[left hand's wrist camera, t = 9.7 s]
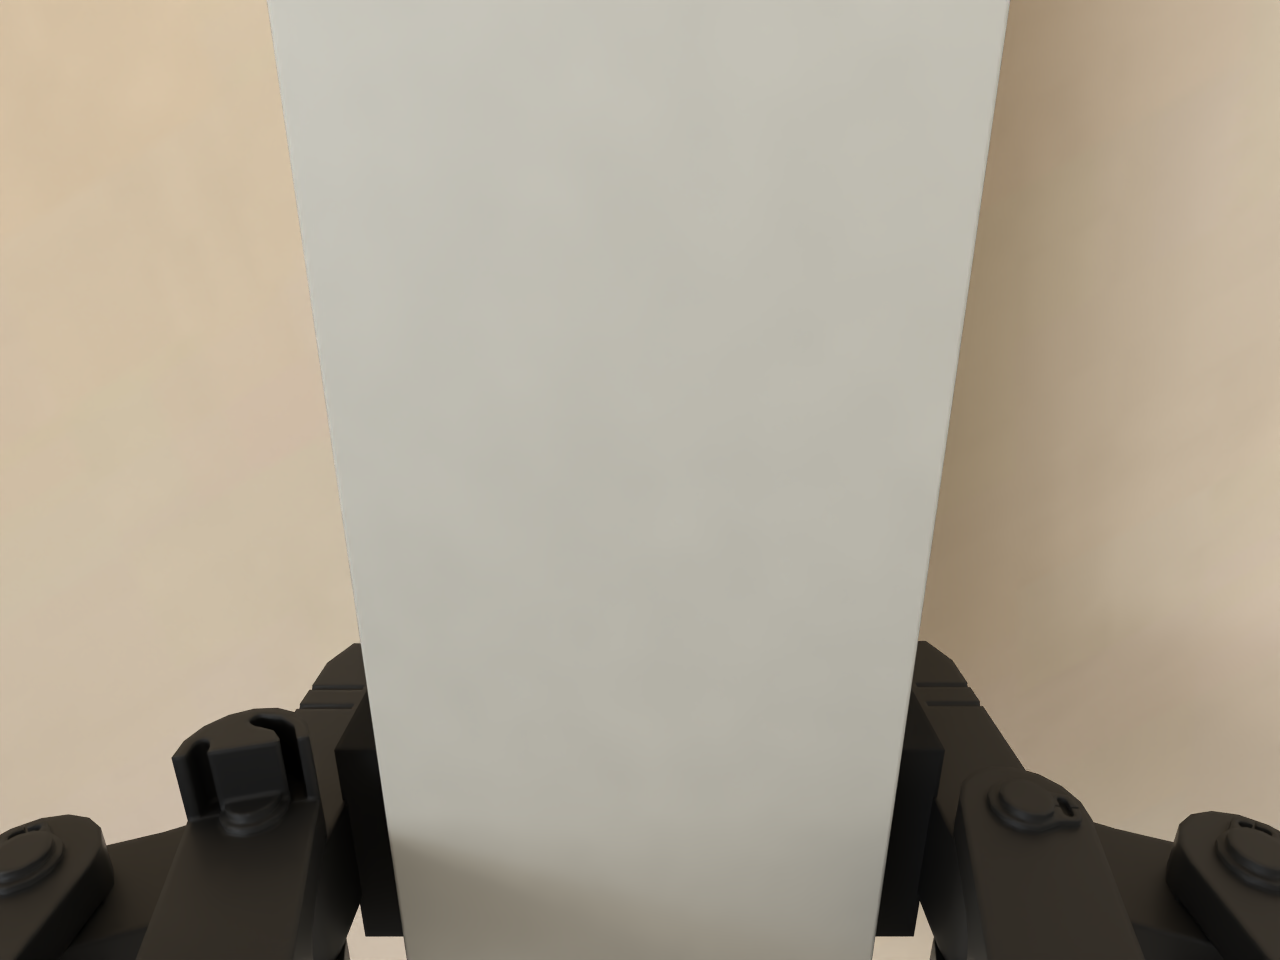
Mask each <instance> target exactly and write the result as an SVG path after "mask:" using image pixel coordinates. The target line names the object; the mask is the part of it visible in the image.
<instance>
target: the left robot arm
mask: <svg viewBox="0 0 1280 960" xmlns="http://www.w3.org/2000/svg"><path fill="white" fill-rule="evenodd" d="M172 762H173V765H174V769H175V773H176V777H177V781H178V785H179V789H180V792H181V796H182V800H183V804H184V808H185V812H186V815H187V819H188V822H187V825H186V826H183V827H179V828H176V829H173V830H169V831H166V832H162V833H158V834H154V835H150V836H145V837H141V838H137V839H132V840H128V841H124V842H120V843H115V844H111V845H107V846H106V843H105V840H104V837H103V834H102V830H101V828H100V827H99V826H98V825H97V824H96V823H95V822H93V821H92V820H91V819H90V818H87V817H81V816H75V815H61V816H54V817H47V818H41V819H38V820H35V821H32V822H29V823H26V824H23V825H21V826H18V827H15V828H12V829H10V830H8V831H6V832H4V833H3V834H1V835H0V960H350V957H349V950H348V945H347V939H346V937H347V935H348V932H349V930H350V927H351V925H352V922H353V920H354V917H355V914H356V912H357V909H358V907H359V904H360V906H361V912H362V918H363V924H364V930H365V936H403V929H402V922H401V915H400V908H399V902H398V895H397V888H396V881H395V874H394V867H393V861H392V854H391V847H390V840H389V833H388V826H387V819H386V813H385V806H384V799H383V792H382V785H381V778H380V771H379V765H378V758H377V751H376V744H375V737H374V730H373V723H372V717H371V710H370V703H369V696H368V689H367V682H366V676H365V669H364V662H363V655H362V648H361V643H354V644H352V645H351V646H350V647H348V648H347V649H346V650H344V651H343V652H341V653H340V654H339V655H337V656H336V657H335V658H333V659H332V660H331V661H329V662H328V663H327V664H326V666H325V667H324V669H323V670H322V672H321V673H320V675H319V676H318V678H317V679H316V681H315V682H314V684H313V685H312V690H309V691H308V693H307V694H306V696H305V697H304V699H303V700H302V702H301V703H300V709H296V711H295V712H292V711H288V710H284V709H280V708H262V709H251V710H247V711H243V712H239V713H235V714H231V715H228V716H226V717H223V718H221V719H219V720H217V721H215V722H212V723H210V724H208V725H206V726H204V727H202V728H201V729H200V730H198V731H197V732H196V733H194V734H193V735H192V736H190V737H189V738H188V739H186V740H185V741H184V742H183V743H182V744H181V746H180V747H179V748H178V750H177V751H176V753H175V754H174V755H173V757H172ZM919 902H921V905H922V908H923V910H924V913H925V915H926V918H927V920H928V923H929V925H930V928H931V930H932V933H933V935H934V939H933V945H932V950H931V956H930V960H1280V831H1278V830H1277V829H1275V828H1273V827H1271V826H1269V825H1266V824H1264V823H1261V822H1258V821H1255V820H1252V819H1249V818H1246V817H1243V816H1240V815H1236V814H1229V813H1222V812H1214V811H1209V812H1203V813H1197V814H1191V815H1190V816H1189V817H1187V818H1186V819H1185V820H1184V821H1183V822H1182V823H1180V824H1179V827H1178V830H1177V833H1176V837H1175V840H1174V842H1170V841H1165V840H1161V839H1157V838H1153V837H1148V836H1144V835H1140V834H1135V833H1131V832H1127V831H1122V830H1118V829H1114V828H1111V827H1108V826H1104V825H1101V824H1098V823H1094V822H1093V821H1092V819H1091V817H1090V816H1089V814H1088V813H1087V811H1086V810H1085V808H1084V806H1083V805H1082V803H1081V802H1080V801H1079V800H1078V799H1076V798H1075V797H1074V796H1073V795H1072V794H1070V793H1069V792H1068V791H1067V790H1066V789H1064V788H1063V787H1062V786H1060V785H1058V784H1056V783H1055V782H1053V781H1051V780H1049V779H1047V778H1045V777H1043V776H1041V775H1039V774H1036V773H1032V772H1029V771H1026V770H1025V769H1024V767H1023V766H1022V764H1021V763H1020V761H1019V760H1018V758H1017V757H1016V755H1015V754H1014V752H1013V751H1012V749H1011V748H1010V746H1009V745H1008V743H1007V742H1006V740H1005V739H1004V737H1003V736H1002V734H1001V733H1000V731H999V730H998V728H997V727H996V725H995V724H994V722H993V721H992V719H991V718H990V716H989V715H988V713H987V712H986V710H985V709H984V707H983V706H980V701H979V700H978V698H977V697H976V695H975V694H974V692H973V691H972V689H971V688H970V687H968V686H967V682H966V680H965V679H964V677H963V676H962V674H961V673H960V671H959V670H958V668H957V667H956V665H955V664H954V662H953V661H952V660H951V659H950V658H948V657H947V656H946V655H944V654H943V653H942V652H940V651H939V650H937V649H936V648H935V647H933V646H932V645H931V644H929V643H928V642H926V641H918V643H917V650H916V657H915V664H914V671H913V678H912V685H911V692H910V699H909V706H908V713H907V720H906V727H905V734H904V741H903V748H902V754H901V761H900V768H899V775H898V782H897V789H896V796H895V803H894V810H893V817H892V824H891V831H890V838H889V845H888V852H887V859H886V865H885V872H884V879H883V886H882V893H881V900H880V907H879V914H878V921H877V928H876V935H875V936H914V931H915V925H916V919H917V914H918V908H919Z"/></svg>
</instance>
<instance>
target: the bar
mask: <svg viewBox="0 0 1280 960" xmlns="http://www.w3.org/2000/svg"><path fill="white" fill-rule="evenodd" d="M267 4H268V11H269V18H270V25H271V32H272V38H273V45H274V52H275V59H276V66H277V73H278V79H279V86H280V93H281V100H282V107H283V114H284V121H285V127H286V134H287V141H288V148H289V155H290V162H291V169H292V175H293V182H294V189H295V196H296V203H297V210H298V216H299V223H300V230H301V237H302V244H303V251H304V258H305V264H306V271H307V278H308V285H309V292H310V299H311V306H312V312H313V319H314V326H315V333H316V340H317V347H318V354H319V360H320V367H321V374H322V381H323V388H324V395H325V401H326V408H327V415H328V422H329V429H330V436H331V443H332V449H333V456H334V463H335V470H336V477H337V484H338V491H339V497H340V504H341V511H342V518H343V525H344V532H345V539H346V545H347V552H348V559H349V566H350V573H351V580H352V586H353V593H354V600H355V607H356V614H357V621H358V628H359V634H360V641H361V648H362V655H363V662H364V669H365V676H366V682H367V689H368V696H369V703H370V710H371V717H372V723H373V730H374V737H375V744H376V751H377V758H378V765H379V771H380V778H381V785H382V792H383V799H384V806H385V813H386V819H387V826H388V833H389V840H390V847H391V854H392V861H393V867H394V874H395V881H396V888H397V895H398V902H399V908H400V915H401V922H402V929H403V936H404V943H405V950H406V956H407V960H872V956H873V949H874V942H875V935H876V928H877V921H878V914H879V907H880V900H881V893H882V886H883V879H884V872H885V865H886V859H887V852H888V845H889V838H890V831H891V824H892V817H893V810H894V803H895V796H896V789H897V782H898V775H899V768H900V761H901V754H902V748H903V741H904V734H905V727H906V720H907V713H908V706H909V699H910V692H911V685H912V678H913V671H914V664H915V657H916V650H917V643H918V637H919V630H920V623H921V616H922V609H923V602H924V595H925V588H926V581H927V574H928V567H929V560H930V553H931V546H932V539H933V533H934V526H935V519H936V512H937V505H938V498H939V491H940V484H941V477H942V470H943V463H944V456H945V449H946V442H947V435H948V428H949V422H950V415H951V408H952V401H953V394H954V387H955V380H956V373H957V366H958V359H959V352H960V345H961V338H962V331H963V324H964V318H965V311H966V304H967V297H968V290H969V283H970V276H971V269H972V262H973V255H974V248H975V241H976V234H977V227H978V220H979V213H980V207H981V200H982V193H983V186H984V179H985V172H986V165H987V158H988V151H989V144H990V137H991V130H992V123H993V116H994V109H995V102H996V96H997V89H998V82H999V75H1000V68H1001V61H1002V54H1003V47H1004V40H1005V33H1006V26H1007V19H1008V12H1009V5H1010V0H267Z"/></svg>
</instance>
